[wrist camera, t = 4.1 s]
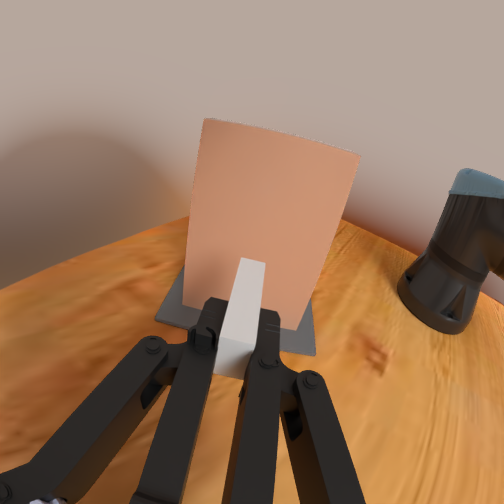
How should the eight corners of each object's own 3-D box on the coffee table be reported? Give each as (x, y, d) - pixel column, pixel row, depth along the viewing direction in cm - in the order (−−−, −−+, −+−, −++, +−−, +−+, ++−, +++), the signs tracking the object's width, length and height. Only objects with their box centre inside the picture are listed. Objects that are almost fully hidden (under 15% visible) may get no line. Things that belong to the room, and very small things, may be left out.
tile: (296, 330, 27) (360, 156, 18) (182, 304, 27) (203, 118, 18) (295, 314, 29) (352, 151, 20) (189, 290, 29) (212, 118, 20)
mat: (314, 356, 25) (315, 353, 25) (154, 320, 25) (154, 317, 25) (302, 244, 46) (303, 242, 46) (210, 223, 46) (211, 221, 46)
